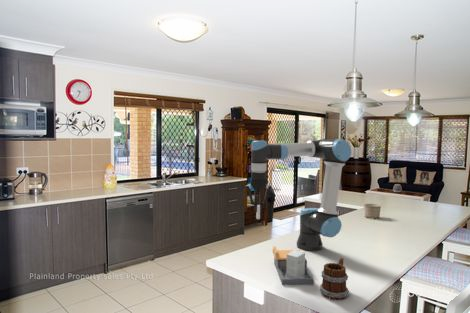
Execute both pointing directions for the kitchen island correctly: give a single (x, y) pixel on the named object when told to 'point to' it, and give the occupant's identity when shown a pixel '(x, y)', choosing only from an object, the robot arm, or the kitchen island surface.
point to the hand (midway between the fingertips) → (258, 218)
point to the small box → (295, 264)
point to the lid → (281, 253)
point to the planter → (372, 210)
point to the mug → (334, 281)
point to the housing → (303, 280)
